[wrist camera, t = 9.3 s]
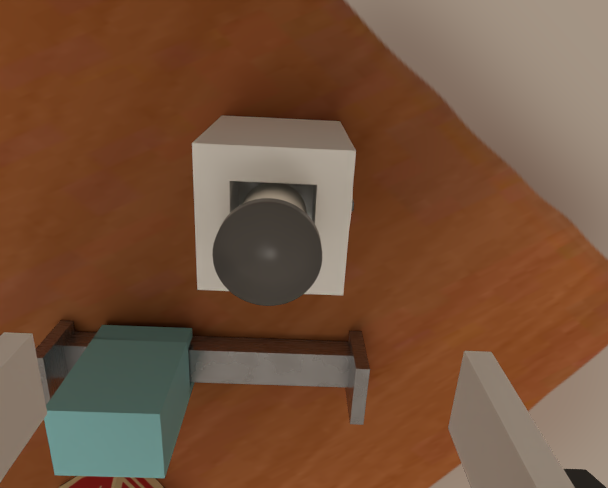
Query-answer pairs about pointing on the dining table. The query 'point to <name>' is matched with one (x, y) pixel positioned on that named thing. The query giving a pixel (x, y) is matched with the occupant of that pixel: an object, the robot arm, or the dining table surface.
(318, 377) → the rail
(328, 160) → the cabinet
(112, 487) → the milk carton
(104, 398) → the block
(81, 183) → the dining table surface
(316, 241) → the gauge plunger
